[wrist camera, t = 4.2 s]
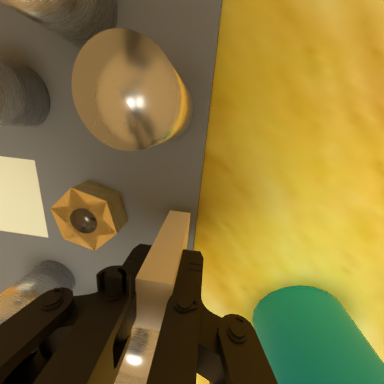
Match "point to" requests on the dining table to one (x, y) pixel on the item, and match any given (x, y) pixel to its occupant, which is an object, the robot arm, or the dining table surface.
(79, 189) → the nut
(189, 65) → the mat
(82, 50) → the spacers
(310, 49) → the dining table surface
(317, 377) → the mug
